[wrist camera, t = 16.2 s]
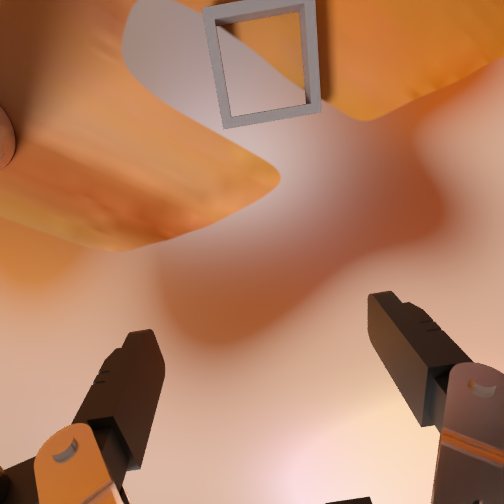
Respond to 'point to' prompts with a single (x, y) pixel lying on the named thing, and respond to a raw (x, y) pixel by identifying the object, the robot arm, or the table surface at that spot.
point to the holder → (255, 7)
